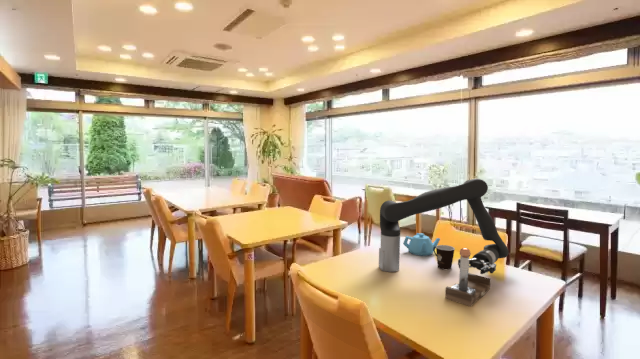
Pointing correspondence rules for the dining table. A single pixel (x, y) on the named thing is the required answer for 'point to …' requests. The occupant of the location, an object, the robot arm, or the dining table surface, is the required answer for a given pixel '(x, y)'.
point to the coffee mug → (444, 256)
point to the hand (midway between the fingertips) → (470, 269)
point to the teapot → (420, 244)
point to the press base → (464, 297)
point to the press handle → (464, 272)
